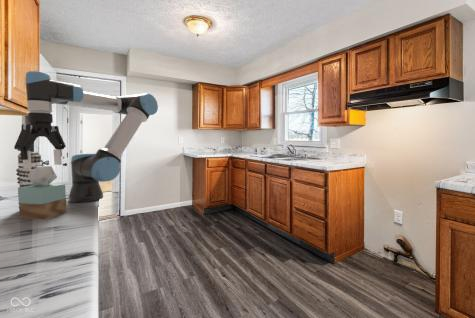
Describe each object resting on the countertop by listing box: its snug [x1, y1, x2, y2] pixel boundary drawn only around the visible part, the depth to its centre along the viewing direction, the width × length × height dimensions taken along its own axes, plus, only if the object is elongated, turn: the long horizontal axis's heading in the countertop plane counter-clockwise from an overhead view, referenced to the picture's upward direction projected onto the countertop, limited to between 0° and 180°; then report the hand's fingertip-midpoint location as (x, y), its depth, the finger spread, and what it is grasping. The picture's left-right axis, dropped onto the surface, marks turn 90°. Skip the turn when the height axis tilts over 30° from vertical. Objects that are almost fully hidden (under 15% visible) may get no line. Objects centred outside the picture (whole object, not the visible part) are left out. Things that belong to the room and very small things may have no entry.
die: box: [27, 165, 58, 186], centre depth 99 cm, size 8×9×10 cm
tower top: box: [17, 182, 67, 204], centre depth 99 cm, size 10×10×6 cm
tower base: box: [18, 197, 68, 220], centre depth 99 cm, size 10×10×6 cm
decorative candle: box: [15, 151, 45, 201], centre depth 106 cm, size 9×9×25 cm
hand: (43, 166), depth 99 cm, fingers open, 13 cm apart
